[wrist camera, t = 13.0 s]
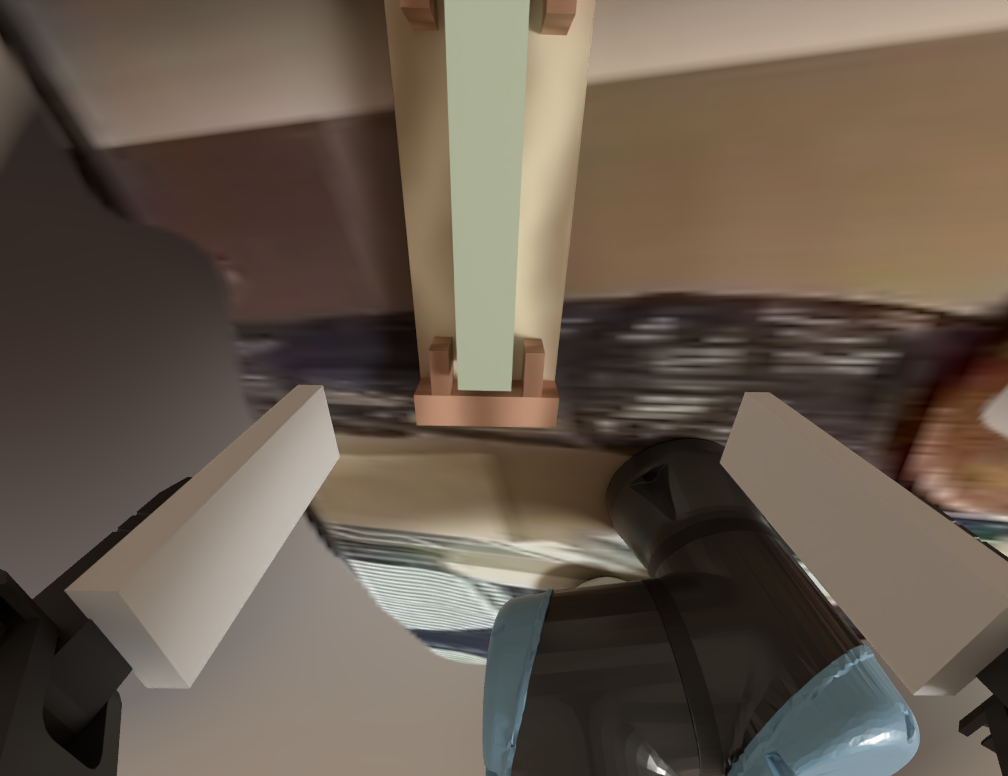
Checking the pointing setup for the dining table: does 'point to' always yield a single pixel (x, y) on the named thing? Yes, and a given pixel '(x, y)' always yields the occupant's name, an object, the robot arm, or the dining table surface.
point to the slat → (485, 180)
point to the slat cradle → (543, 206)
